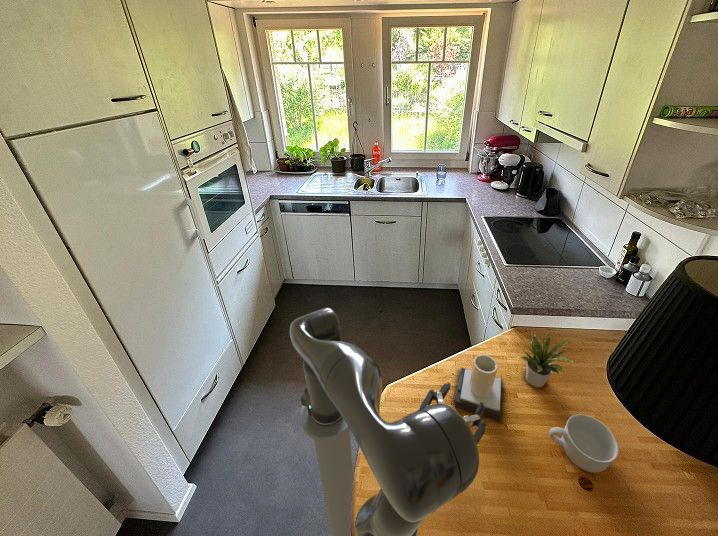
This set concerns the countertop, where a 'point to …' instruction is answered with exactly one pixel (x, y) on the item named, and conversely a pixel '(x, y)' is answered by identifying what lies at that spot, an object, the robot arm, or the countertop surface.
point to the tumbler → (483, 375)
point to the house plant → (542, 361)
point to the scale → (471, 401)
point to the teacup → (587, 442)
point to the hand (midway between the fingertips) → (465, 394)
